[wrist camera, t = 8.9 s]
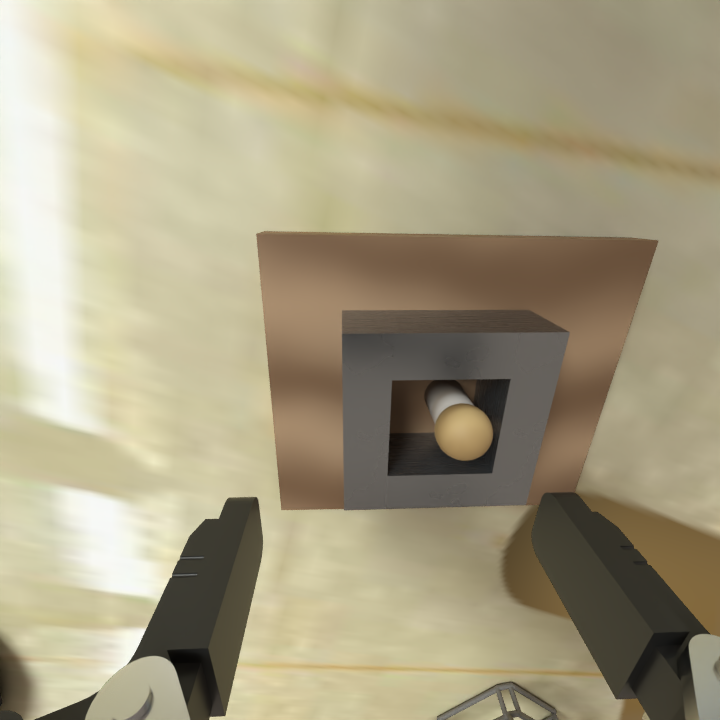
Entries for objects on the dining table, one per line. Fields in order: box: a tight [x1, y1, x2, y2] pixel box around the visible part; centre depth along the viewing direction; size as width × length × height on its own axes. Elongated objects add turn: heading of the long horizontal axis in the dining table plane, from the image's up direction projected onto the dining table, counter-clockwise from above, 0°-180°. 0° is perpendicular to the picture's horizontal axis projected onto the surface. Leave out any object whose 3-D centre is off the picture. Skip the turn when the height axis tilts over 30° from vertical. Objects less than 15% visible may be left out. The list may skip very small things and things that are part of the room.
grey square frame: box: [342, 310, 570, 510], centre depth 15 cm, size 8×8×3 cm
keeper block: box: [256, 231, 658, 510], centre depth 15 cm, size 14×16×6 cm
